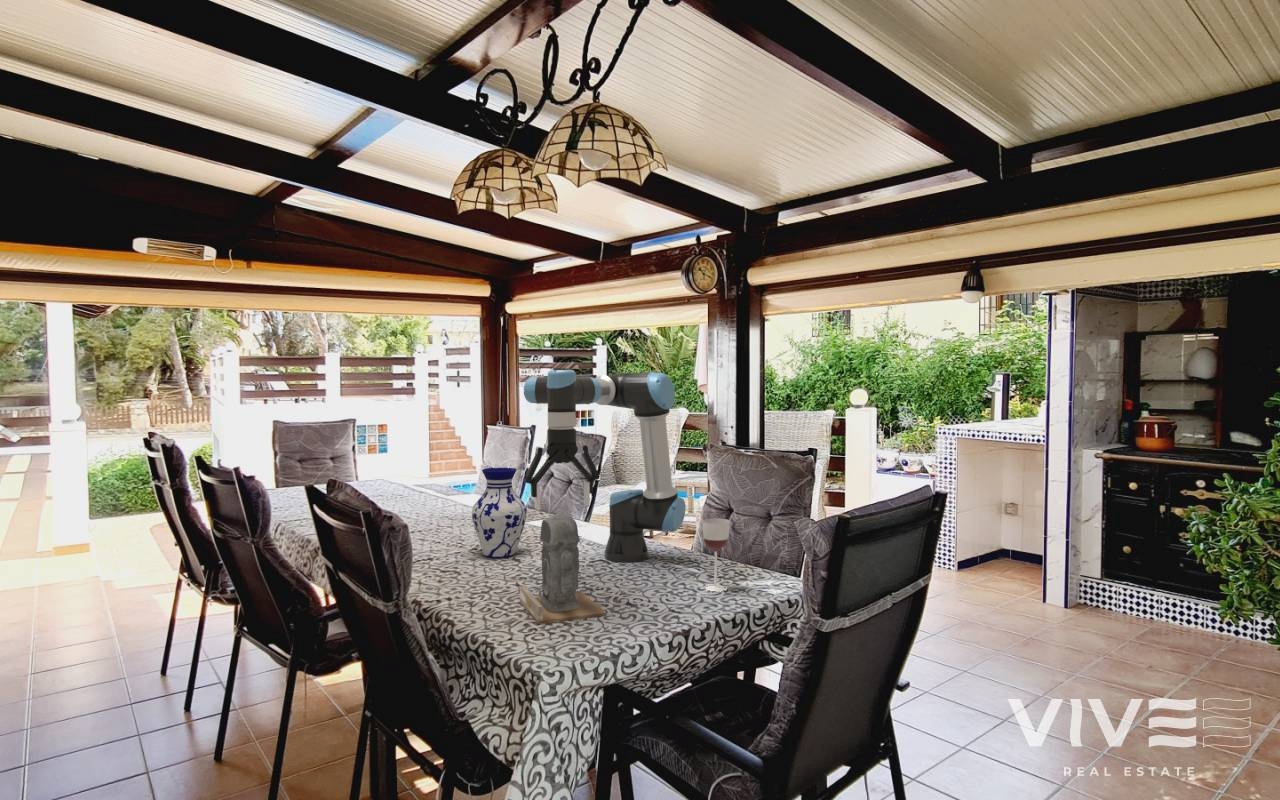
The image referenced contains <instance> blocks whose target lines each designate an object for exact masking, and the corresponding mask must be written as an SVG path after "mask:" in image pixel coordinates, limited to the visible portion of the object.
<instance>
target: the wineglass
mask: <svg viewBox="0 0 1280 800" xmlns="http://www.w3.org/2000/svg"><path fill="white" fill-rule="evenodd" d="M701 522H702V523H701V525H702V527H701V528H702V536H703V538H702V539H703V542H704V543H705V545H706V546H707V547H708V548H709V549H711V550H712V551H713V552H714V553H713V554H714V559H713V561H714V563H713V565H714V566H713V567H714V568H713V569H714V573H713V575H714V578H713V579H714V580H713V583H714V584H713V585H714V586H713V585H707V586H708V587H706V586H705V587H706V589H707V590H710V591H720V592H721V591H723V590H724V589H725V588H724V587H725V586H723V587H722V585H718V551H719V550H721V549H723V548H724V547H725V546H726V544H727V543H728V541H729V537H730V520H729V519H727V518H726V519H725V518H715V517H714V518H711V517H710V518H705V519H702V520H701ZM721 593H722V592H721Z"/></svg>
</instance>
